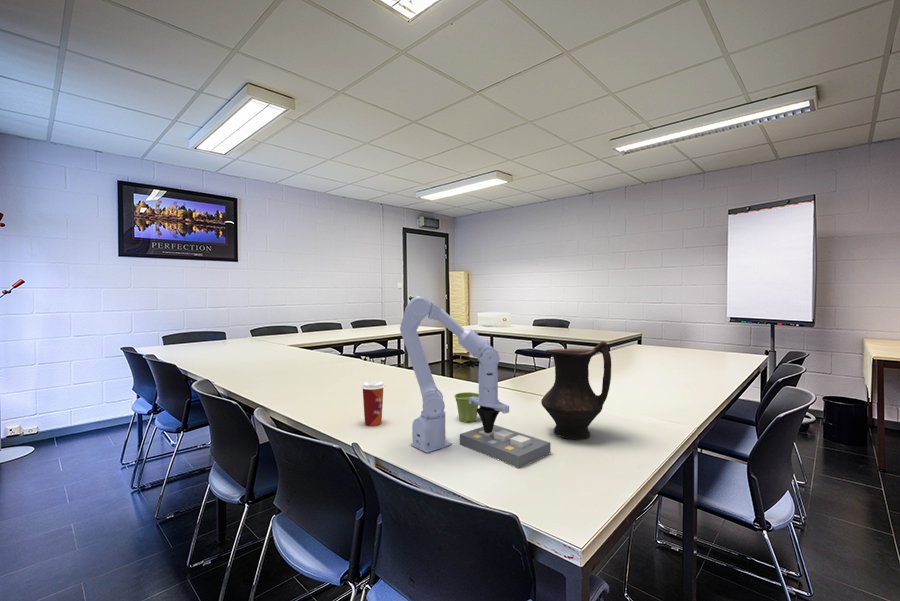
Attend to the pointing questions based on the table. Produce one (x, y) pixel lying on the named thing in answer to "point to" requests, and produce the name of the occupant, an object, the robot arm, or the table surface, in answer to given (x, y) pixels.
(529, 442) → the end button
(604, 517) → the table surface
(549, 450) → the button board
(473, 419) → the plant pot
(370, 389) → the paper cup
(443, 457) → the table surface
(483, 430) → the end button
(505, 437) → the middle button
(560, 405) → the jug
